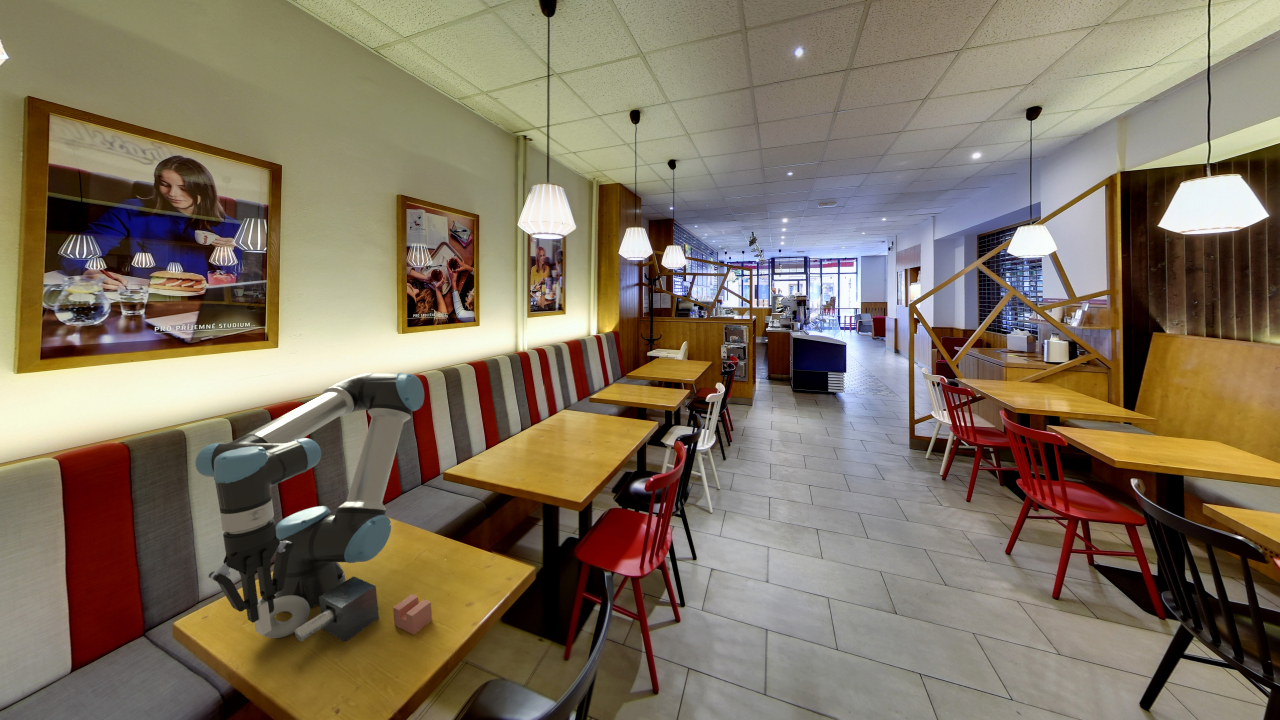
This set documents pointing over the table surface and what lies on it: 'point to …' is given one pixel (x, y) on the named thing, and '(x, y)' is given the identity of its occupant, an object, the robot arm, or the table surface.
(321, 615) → the axle
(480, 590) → the table surface
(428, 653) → the table surface
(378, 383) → the robot arm
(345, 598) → the block with square hole
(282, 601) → the donut
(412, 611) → the v block
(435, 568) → the table surface
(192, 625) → the table surface
